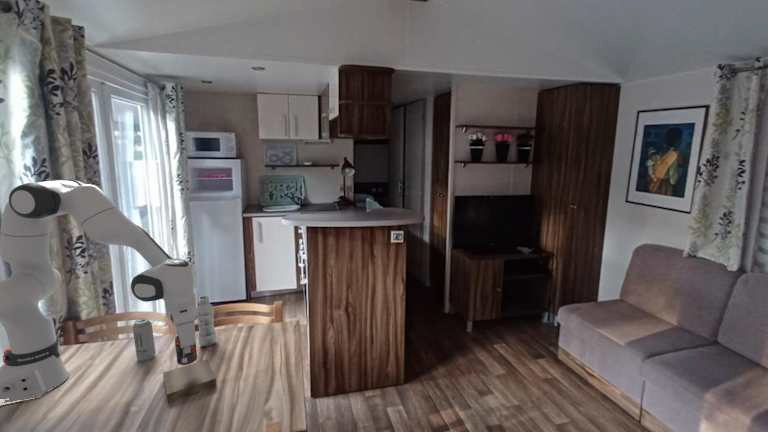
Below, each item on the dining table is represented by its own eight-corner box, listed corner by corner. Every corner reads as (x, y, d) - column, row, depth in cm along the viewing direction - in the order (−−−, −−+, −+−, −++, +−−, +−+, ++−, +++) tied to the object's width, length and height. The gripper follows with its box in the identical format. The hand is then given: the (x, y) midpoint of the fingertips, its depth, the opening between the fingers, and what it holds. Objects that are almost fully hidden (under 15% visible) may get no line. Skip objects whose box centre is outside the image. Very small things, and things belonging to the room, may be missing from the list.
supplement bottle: (189, 367, 121) (185, 334, 119) (173, 365, 122) (169, 333, 120) (201, 356, 126) (198, 326, 124) (186, 355, 128) (182, 324, 126)
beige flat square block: (168, 403, 116) (167, 394, 116) (163, 380, 127) (162, 372, 127) (216, 386, 124) (215, 378, 123) (208, 366, 135) (207, 359, 135)
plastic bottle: (200, 341, 153) (195, 295, 149) (218, 339, 155) (213, 293, 151) (197, 349, 147) (192, 302, 143) (216, 347, 149) (211, 299, 145)
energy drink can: (133, 361, 139) (127, 324, 136) (146, 352, 145) (141, 316, 142) (147, 363, 138) (142, 325, 135) (159, 354, 144) (155, 318, 141)
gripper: (166, 300, 127) (171, 337, 130) (173, 322, 111) (179, 364, 113) (187, 295, 131) (191, 332, 133) (197, 316, 114) (201, 357, 117)
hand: (185, 347), depth 123 cm, fingers closed on supplement bottle, 6 cm apart
